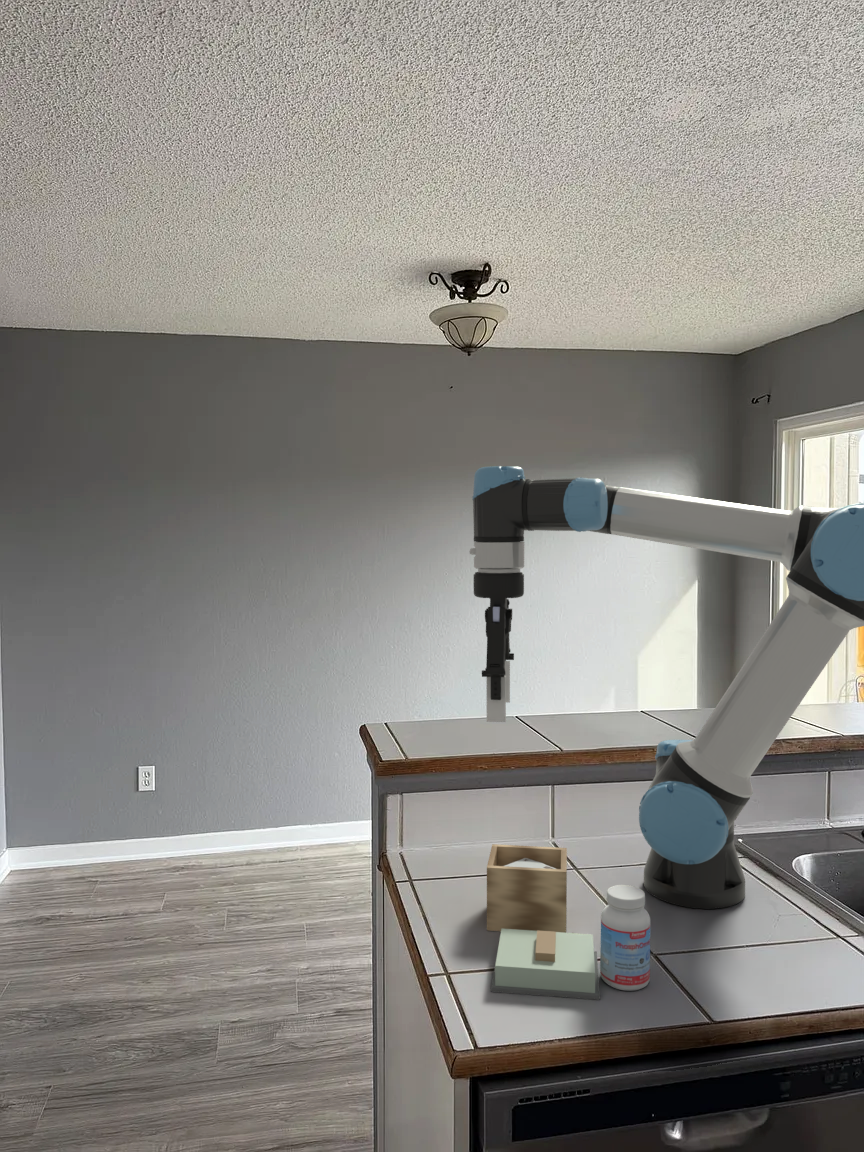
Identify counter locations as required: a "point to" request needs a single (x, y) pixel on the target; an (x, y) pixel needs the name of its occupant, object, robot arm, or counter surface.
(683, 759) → the robot arm
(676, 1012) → the counter surface
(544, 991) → the mat
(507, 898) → the box
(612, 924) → the pill bottle
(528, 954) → the lid
